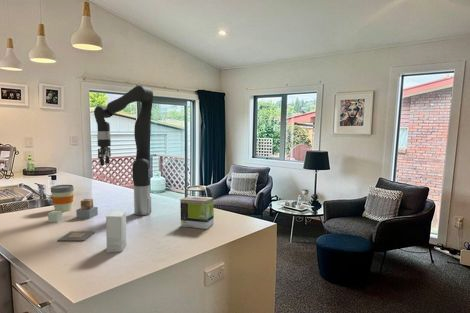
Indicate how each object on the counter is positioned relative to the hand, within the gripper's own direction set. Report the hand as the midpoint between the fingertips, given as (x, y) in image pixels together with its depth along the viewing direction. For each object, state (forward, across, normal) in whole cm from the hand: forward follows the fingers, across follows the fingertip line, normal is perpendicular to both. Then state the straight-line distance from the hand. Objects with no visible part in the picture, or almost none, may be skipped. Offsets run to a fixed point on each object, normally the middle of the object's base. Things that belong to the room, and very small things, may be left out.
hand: (104, 164), depth 198 cm
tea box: (+28, -35, -61) cm, 76 cm away
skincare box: (+28, -67, -30) cm, 79 cm away
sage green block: (+28, -26, +18) cm, 42 cm away
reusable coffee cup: (+28, -4, +25) cm, 38 cm away
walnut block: (+23, -18, +4) cm, 30 cm away
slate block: (+28, -18, +4) cm, 34 cm away
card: (+28, -52, -6) cm, 59 cm away
